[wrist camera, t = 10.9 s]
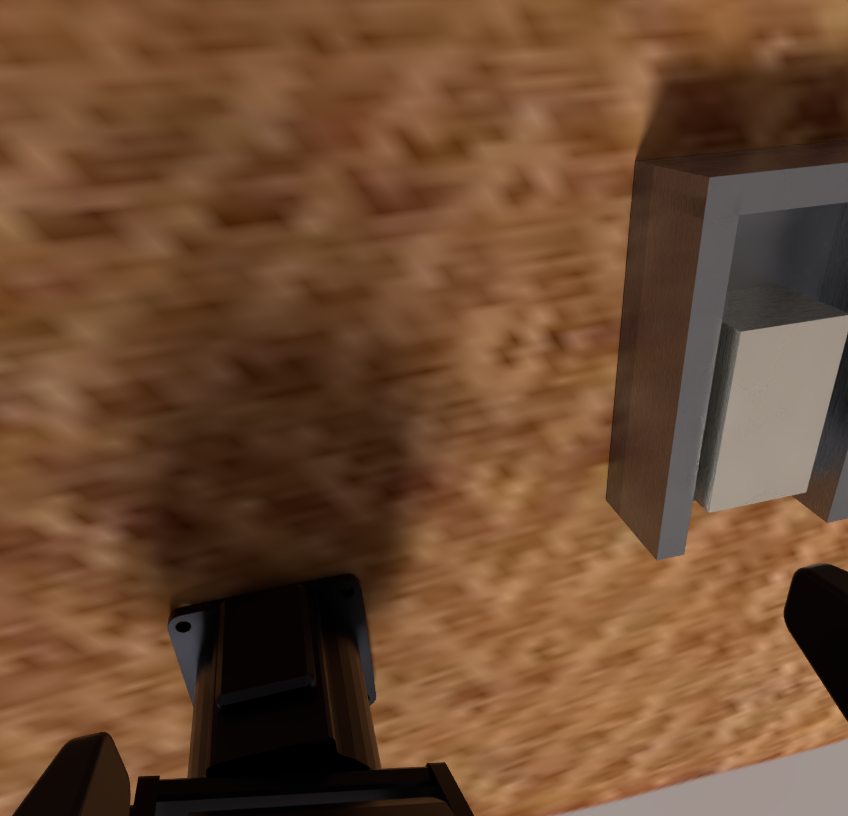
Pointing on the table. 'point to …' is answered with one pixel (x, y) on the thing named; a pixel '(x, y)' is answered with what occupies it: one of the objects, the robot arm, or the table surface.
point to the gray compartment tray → (733, 339)
